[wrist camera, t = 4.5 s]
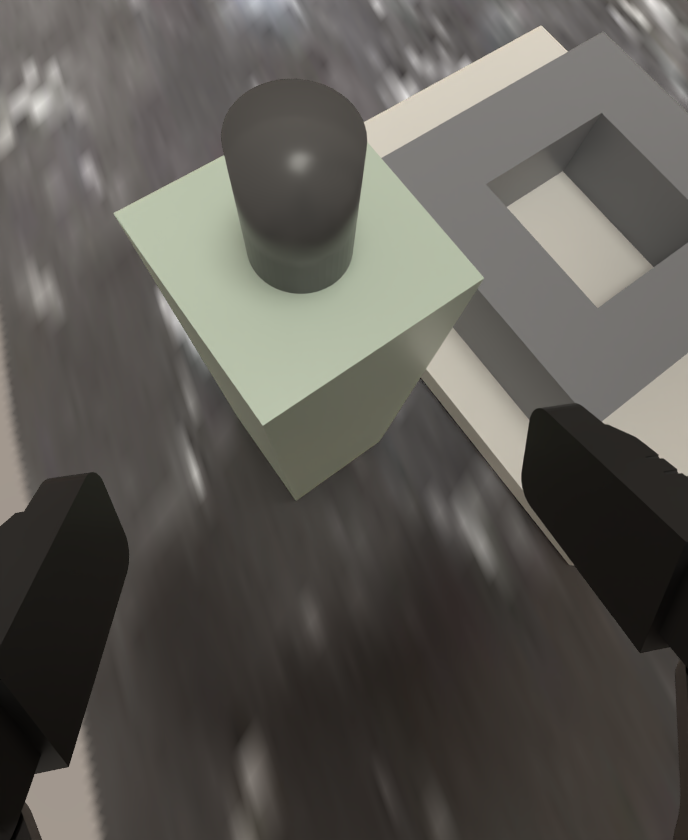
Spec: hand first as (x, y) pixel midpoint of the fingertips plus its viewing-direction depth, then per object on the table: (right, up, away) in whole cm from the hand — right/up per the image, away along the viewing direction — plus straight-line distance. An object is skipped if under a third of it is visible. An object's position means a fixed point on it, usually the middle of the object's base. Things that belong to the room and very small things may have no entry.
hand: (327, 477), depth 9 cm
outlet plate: (+9, +8, +12) cm, 17 cm away
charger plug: (-1, +1, +10) cm, 10 cm away
